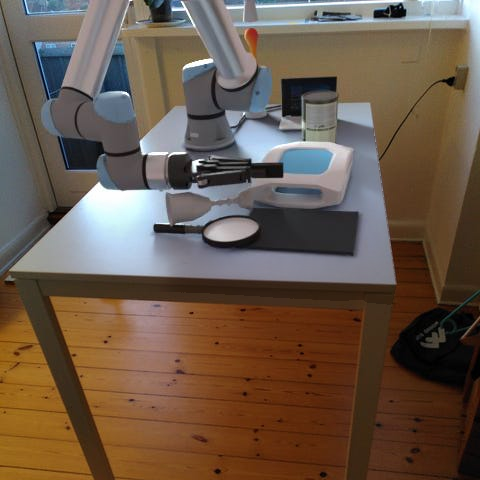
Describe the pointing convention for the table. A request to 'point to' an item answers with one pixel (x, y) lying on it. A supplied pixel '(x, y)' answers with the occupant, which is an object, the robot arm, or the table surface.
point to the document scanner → (306, 174)
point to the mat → (305, 231)
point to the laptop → (292, 97)
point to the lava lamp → (252, 43)
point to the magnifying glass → (219, 231)
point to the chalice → (200, 205)
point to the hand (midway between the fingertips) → (283, 170)
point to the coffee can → (319, 116)
